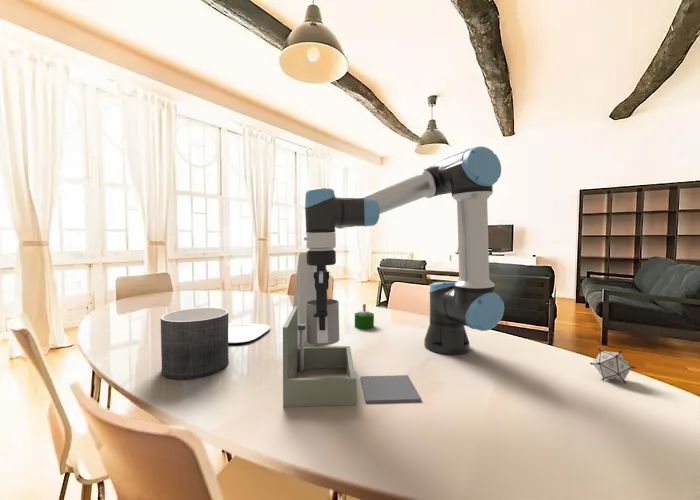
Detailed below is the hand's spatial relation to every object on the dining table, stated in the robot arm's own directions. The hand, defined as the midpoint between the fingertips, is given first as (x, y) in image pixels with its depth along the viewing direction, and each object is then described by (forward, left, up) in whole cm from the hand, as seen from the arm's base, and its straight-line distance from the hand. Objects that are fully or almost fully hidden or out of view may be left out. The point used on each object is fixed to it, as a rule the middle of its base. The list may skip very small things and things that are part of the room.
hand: (323, 336), depth 83 cm
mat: (-16, +4, -12) cm, 21 cm away
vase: (+6, -32, -13) cm, 35 cm away
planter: (+38, -13, -13) cm, 42 cm away
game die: (-77, +2, -13) cm, 79 cm away
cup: (0, 0, -1) cm, 1 cm away
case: (+1, 0, -12) cm, 12 cm away
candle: (-16, -54, -13) cm, 58 cm away
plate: (+37, -45, -13) cm, 59 cm away
